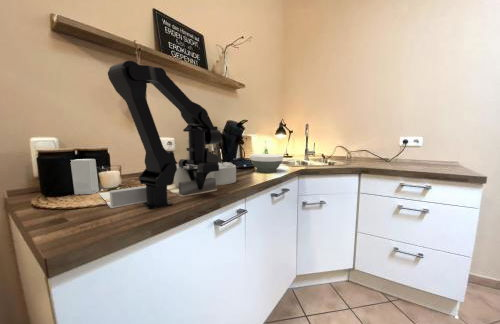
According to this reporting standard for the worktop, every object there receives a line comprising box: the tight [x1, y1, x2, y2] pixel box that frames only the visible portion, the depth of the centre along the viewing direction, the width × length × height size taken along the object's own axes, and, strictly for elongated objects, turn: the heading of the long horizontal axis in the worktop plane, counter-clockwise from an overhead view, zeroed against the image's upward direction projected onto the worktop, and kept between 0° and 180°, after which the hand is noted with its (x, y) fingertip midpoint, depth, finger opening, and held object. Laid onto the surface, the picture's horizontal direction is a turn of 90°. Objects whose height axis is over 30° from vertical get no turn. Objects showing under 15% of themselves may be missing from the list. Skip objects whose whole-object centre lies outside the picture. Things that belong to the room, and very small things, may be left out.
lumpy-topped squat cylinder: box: [206, 161, 237, 186], centre depth 99 cm, size 10×13×9 cm
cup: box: [173, 164, 190, 187], centre depth 89 cm, size 11×8×8 cm
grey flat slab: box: [98, 185, 147, 209], centre depth 74 cm, size 20×14×4 cm
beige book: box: [167, 177, 218, 198], centre depth 86 cm, size 20×14×4 cm
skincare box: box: [70, 158, 100, 196], centre depth 78 cm, size 6×4×12 cm
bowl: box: [249, 153, 284, 174], centre depth 130 cm, size 20×20×10 cm
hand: (198, 188), depth 80 cm, fingers closed on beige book, 3 cm apart
